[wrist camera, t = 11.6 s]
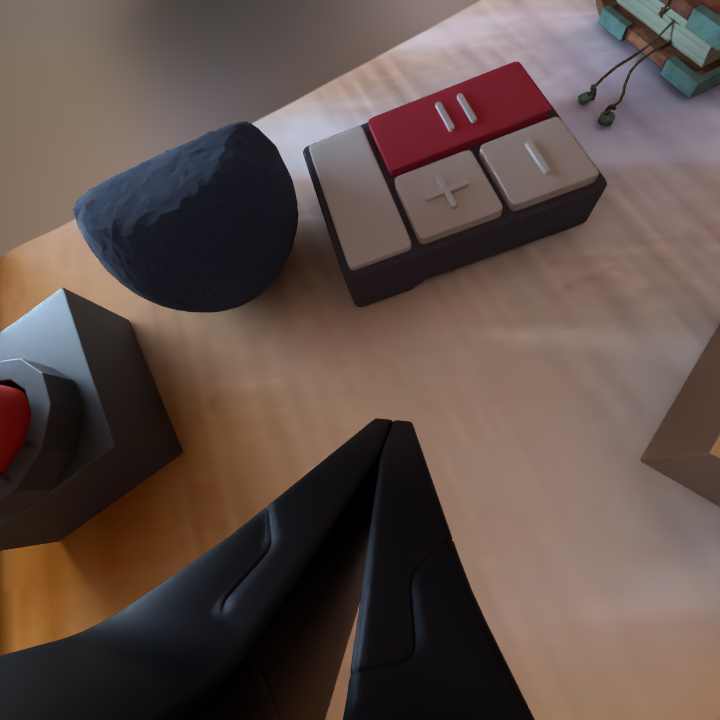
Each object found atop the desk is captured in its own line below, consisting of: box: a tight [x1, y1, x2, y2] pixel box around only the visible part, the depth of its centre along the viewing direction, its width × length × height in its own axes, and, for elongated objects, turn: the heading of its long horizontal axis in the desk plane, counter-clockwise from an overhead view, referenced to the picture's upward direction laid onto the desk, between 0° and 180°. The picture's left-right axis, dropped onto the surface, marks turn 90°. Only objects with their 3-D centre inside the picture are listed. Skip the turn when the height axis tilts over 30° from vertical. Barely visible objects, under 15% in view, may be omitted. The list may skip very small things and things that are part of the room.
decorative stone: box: [73, 122, 298, 312], centre depth 22 cm, size 12×12×10 cm
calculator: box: [303, 62, 607, 307], centre depth 23 cm, size 11×4×15 cm
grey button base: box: [0, 288, 183, 551], centre depth 23 cm, size 12×10×7 cm
